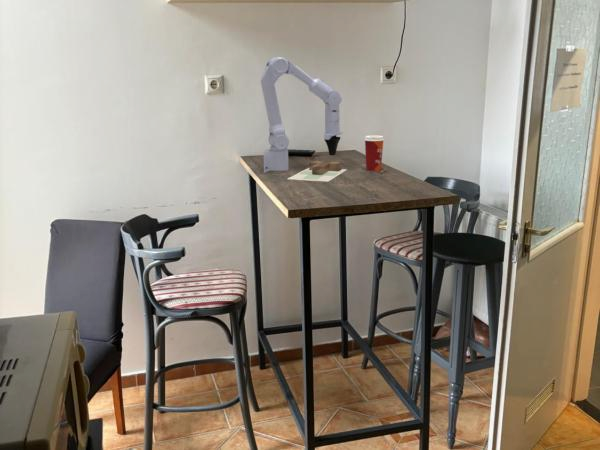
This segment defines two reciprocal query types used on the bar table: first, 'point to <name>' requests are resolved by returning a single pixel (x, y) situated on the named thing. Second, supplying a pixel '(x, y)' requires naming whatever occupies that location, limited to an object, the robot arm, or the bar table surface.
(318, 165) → the t block
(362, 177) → the bar table surface
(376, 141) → the paper cup
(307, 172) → the board
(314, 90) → the robot arm
